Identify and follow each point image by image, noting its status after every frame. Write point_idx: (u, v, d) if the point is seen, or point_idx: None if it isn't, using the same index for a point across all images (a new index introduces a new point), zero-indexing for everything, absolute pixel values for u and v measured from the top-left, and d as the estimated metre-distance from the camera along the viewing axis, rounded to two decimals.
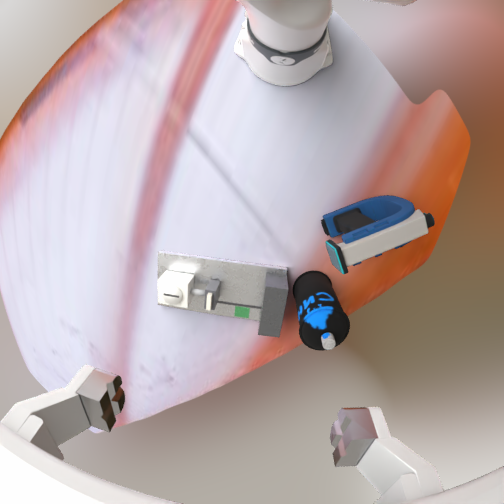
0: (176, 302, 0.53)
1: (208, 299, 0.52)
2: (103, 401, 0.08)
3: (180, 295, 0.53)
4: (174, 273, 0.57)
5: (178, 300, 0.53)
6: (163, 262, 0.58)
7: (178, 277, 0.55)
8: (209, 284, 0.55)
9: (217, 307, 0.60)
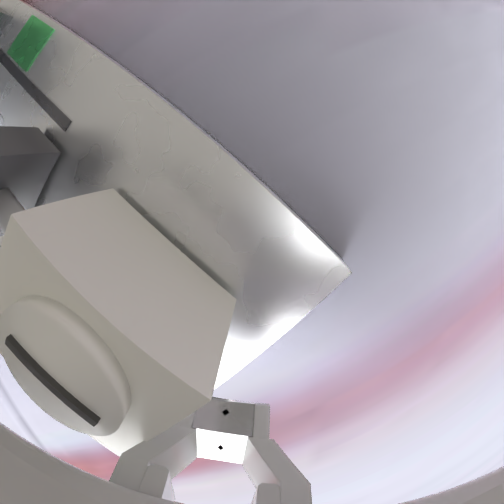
0: (32, 321, 0.05)
1: None
2: None
3: (2, 334, 0.05)
4: None
5: (16, 321, 0.05)
6: None
7: None
8: None
9: (72, 85, 0.09)
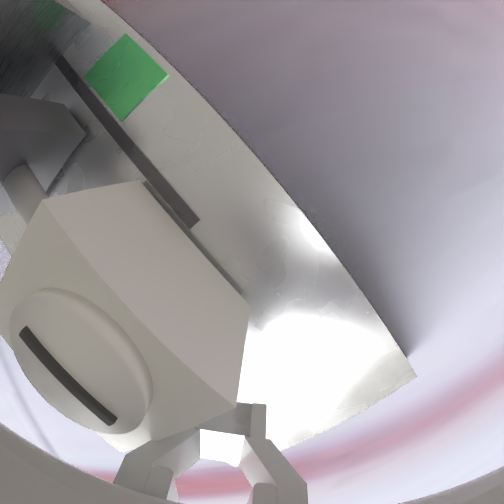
0: (57, 317, 0.05)
1: None
2: None
3: (15, 324, 0.05)
4: None
5: (37, 314, 0.05)
6: None
7: None
8: None
9: (202, 174, 0.10)
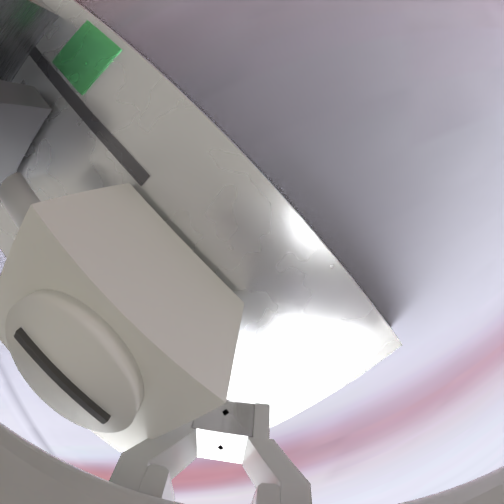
0: (48, 317, 0.05)
1: None
2: None
3: (10, 326, 0.05)
4: None
5: (30, 315, 0.05)
6: None
7: None
8: None
9: (150, 132, 0.09)
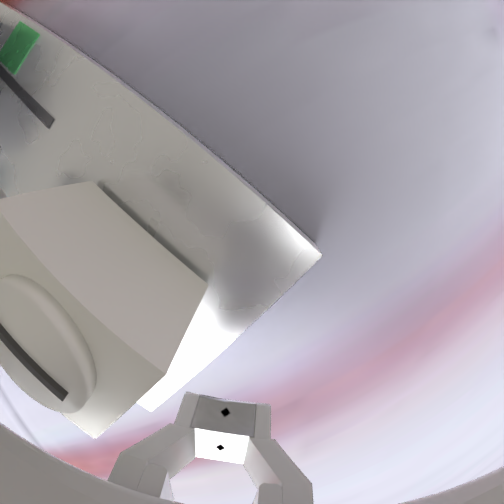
0: (7, 296, 0.05)
1: None
2: None
3: None
4: None
5: None
6: None
7: None
8: None
9: (55, 86, 0.09)
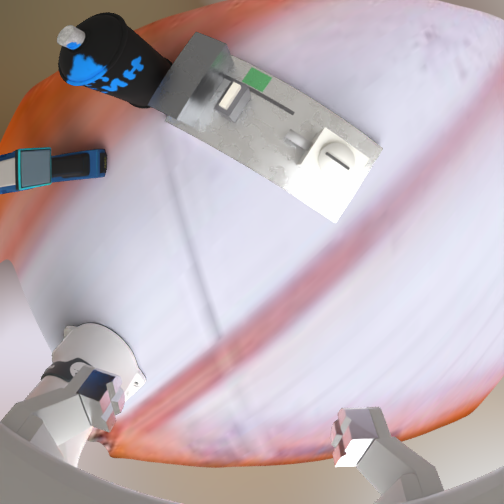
0: (336, 145, 0.28)
1: (226, 100, 0.27)
2: (103, 401, 0.08)
3: (322, 153, 0.29)
4: (324, 182, 0.34)
5: (330, 147, 0.28)
6: (336, 204, 0.36)
7: (317, 176, 0.32)
8: (229, 118, 0.31)
9: (291, 100, 0.32)
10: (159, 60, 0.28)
